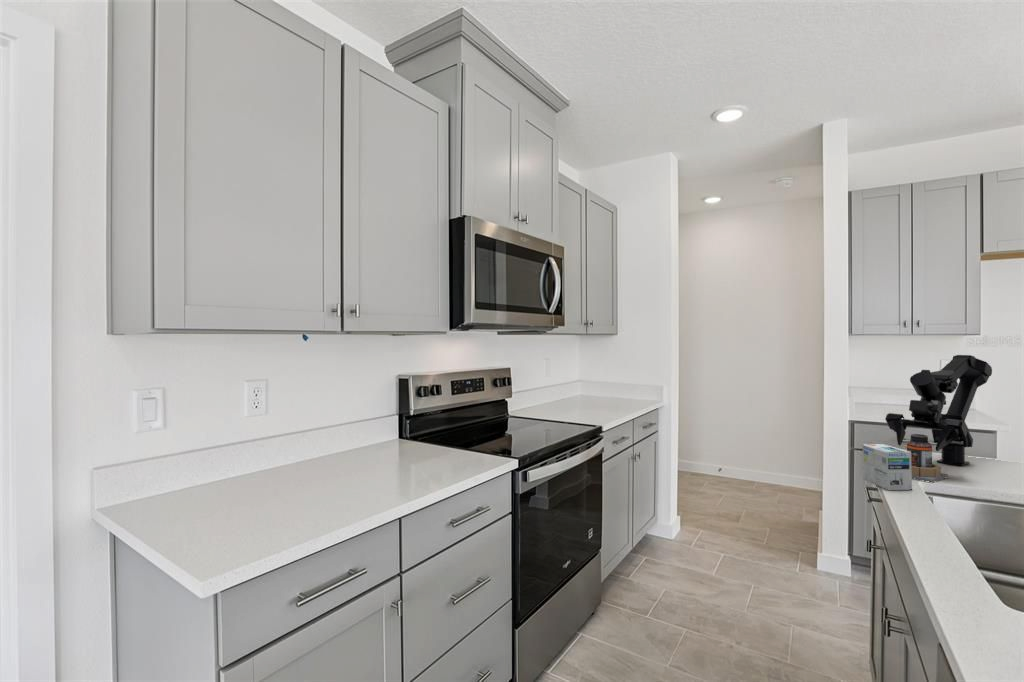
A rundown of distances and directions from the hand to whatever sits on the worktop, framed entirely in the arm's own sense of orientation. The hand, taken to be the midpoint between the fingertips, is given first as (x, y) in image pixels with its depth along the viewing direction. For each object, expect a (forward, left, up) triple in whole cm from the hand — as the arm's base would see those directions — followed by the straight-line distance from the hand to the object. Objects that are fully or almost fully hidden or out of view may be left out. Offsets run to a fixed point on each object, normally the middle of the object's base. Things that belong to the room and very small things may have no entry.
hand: (917, 447), depth 149 cm
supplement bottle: (-2, 0, -8) cm, 8 cm away
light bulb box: (+16, -1, -9) cm, 18 cm away
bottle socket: (-1, 0, -9) cm, 9 cm away
